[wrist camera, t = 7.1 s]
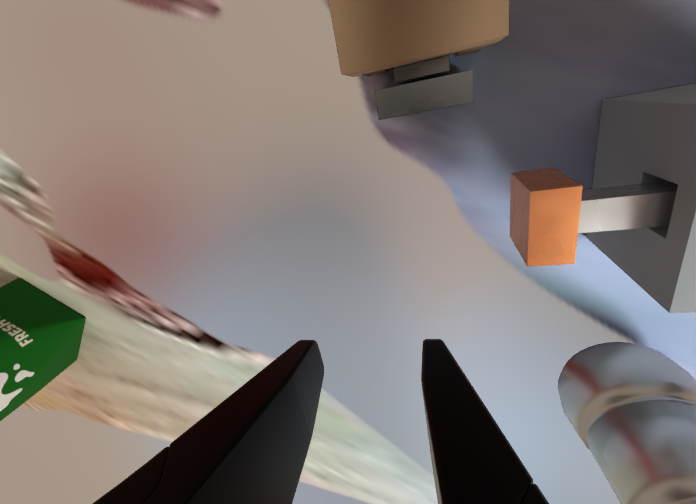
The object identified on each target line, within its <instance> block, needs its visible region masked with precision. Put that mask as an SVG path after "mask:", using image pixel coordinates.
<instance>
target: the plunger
mask: <svg viewBox="0 0 696 504" xmlns="http://www.w3.org/2000/svg"><path fill="white" fill-rule="evenodd" d="M582 188H583V186H582V185H581V184H579V183H577V182H576V181H574V180H572V179H571V178H569V177H567V176H566V175H564V174H562V173H561V172H559V171H557V170H556V169H554V168H545V169H538V170H530V171H522V172H515V173H511V201H510V237H511V239H512V241H513V242H514V244H515V246H516V248H517V249H518V251H519V253H520V255H521V256H522V258H523V260H524V261H525V263H526V265H527V266H543V265H560V264H574V263H575V253H576V244H577V235H578V233H589V232H601V231H613V230H626V229H638V228H650V227H662V226H669V223H670V219H671V214H672V210H673V206H674V201H675V197H676V192H677V188H678V184H675V183H672V182H670V181H658V182H649V183H640V184H631V185H622V186H613V187H604V188H595V189H587V190H582Z"/></svg>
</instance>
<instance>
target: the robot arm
mask: <svg viewBox="0 0 696 504" xmlns="http://www.w3.org/2000/svg"><path fill="white" fill-rule="evenodd" d="M323 376H324V365H323V361H322V358H321V354H320V351H319V347H318V344H317V343H316V341H314V340H300V341H298V342H297V343H295V344H294V345H293V346H292V347H290V348H289V349H288V350H287V351H286V352H284V353H283V354H282V355H280V356H279V357H278V358H277V359H275V360H274V361H273V362H272V363H270V364H269V365H268V366H267V367H265V368H264V369H263V370H262V371H260V372H259V373H258V374H257V375H255V376H254V377H253V378H252V379H250V380H249V381H248V382H247V383H246V384H244V385H243V386H242V387H241V388H239V389H238V390H237V391H236V392H234V393H233V394H232V395H231V396H229V397H228V398H227V399H226V400H224V401H223V402H222V403H221V404H219V405H218V406H217V407H216V408H214V409H213V410H212V411H211V412H209V413H208V414H207V415H206V416H204V417H203V418H202V419H201V420H199V421H198V422H197V423H196V424H194V425H193V426H192V427H191V428H189V429H188V430H187V431H186V432H184V433H183V434H182V435H181V436H179V437H178V438H177V439H176V440H174V441H173V442H172V443H171V444H170V447H166V448H164V449H163V450H162V451H161V452H159V453H158V454H157V455H156V456H154V457H153V458H152V459H151V460H149V461H148V462H147V463H146V464H144V465H143V466H142V467H140V468H139V469H138V470H137V471H135V472H134V473H133V474H131V475H130V476H129V477H128V478H126V479H125V480H124V481H122V482H121V483H120V484H119V485H117V486H116V487H114V488H113V489H112V490H110V491H109V492H108V493H106V494H105V495H104V496H102V497H101V498H100V499H98V500H97V501H95V502H94V503H93V504H292V501H293V498H294V495H295V492H296V488H297V485H298V482H299V478H300V475H301V472H302V468H303V465H304V462H305V458H306V455H307V452H308V448H309V445H310V441H311V438H312V433H313V429H314V424H315V418H316V413H317V408H318V403H319V397H320V392H321V387H322V381H323ZM421 381H422V390H423V398H424V406H425V414H426V421H427V429H428V437H429V445H430V452H431V459H432V466H433V473H434V480H435V486H436V493H437V499H438V504H549V503H548V501H547V500H546V499H545V497H544V495H543V494H542V492H541V491H540V489H539V488H538V486H537V485H536V484H533V479H532V477H531V476H530V474H529V473H528V471H527V470H526V468H525V467H524V465H523V464H522V462H521V460H520V459H519V457H518V456H517V454H516V453H515V451H514V450H513V448H512V447H511V445H510V443H509V442H508V440H507V439H506V437H505V436H504V434H503V433H502V431H501V430H500V428H499V427H498V425H497V424H496V422H495V420H494V419H493V417H492V416H491V414H490V413H489V411H488V410H487V408H486V406H485V405H484V403H483V402H482V400H481V399H480V397H479V396H478V394H477V393H476V391H475V390H474V388H473V386H472V385H471V383H470V382H469V381H468V379H467V378H466V376H465V374H464V373H463V371H462V370H461V368H460V366H459V365H458V363H457V362H456V360H455V359H454V357H453V356H452V354H451V353H450V351H449V350H448V348H447V346H446V345H445V343H444V342H443V341H442V340H440V339H425V340H424V341H423V351H422V373H421Z"/></svg>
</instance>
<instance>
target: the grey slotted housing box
mask: <svg viewBox="0 0 696 504" xmlns="http://www.w3.org/2000/svg"><path fill="white" fill-rule="evenodd" d="M658 181H670V182H672V183H675V184H678V188H677V192H676V197H675V201H674V206H673V210H672V214H671V219H670V223H669V226H662V227H650V228H638V229H626V230H613V231H601V232H589V233H586V237H587V238H588V239H589V240H590V241H591V242H592V243H593V244H594V245H595V246H596V247H598V248H599V249H600V250H601V251H602V252H603V253H604V254H605V255H606V256H607V257H609V258H610V259H611V260H612V261H613V262H614V263H615V264H616V265H617V266H618V267H620V268H621V269H622V270H623V271H624V272H625V273H626V274H627V275H628V276H629V277H630V278H632V279H633V280H634V281H635V282H636V283H637V284H638V285H639V286H640V287H641V288H643V289H644V290H645V291H646V292H647V293H648V294H649V295H650V296H651V297H652V298H654V299H655V300H656V301H657V302H658V303H659V304H660V305H661V306H662V307H663V308H665V309H666V310H667V311H668V312H669V313H689V312H696V83H694V84H689V85H683V86H677V87H671V88H666V89H660V90H654V91H648V92H643V93H637V94H631V95H626V96H620V97H614V98H608V99H603V100H602V107H601V116H600V124H599V133H598V141H597V149H596V158H595V166H594V175H593V183H592V189H595V188H604V187H613V186H622V185H631V184H640V183H649V182H658Z"/></svg>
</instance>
